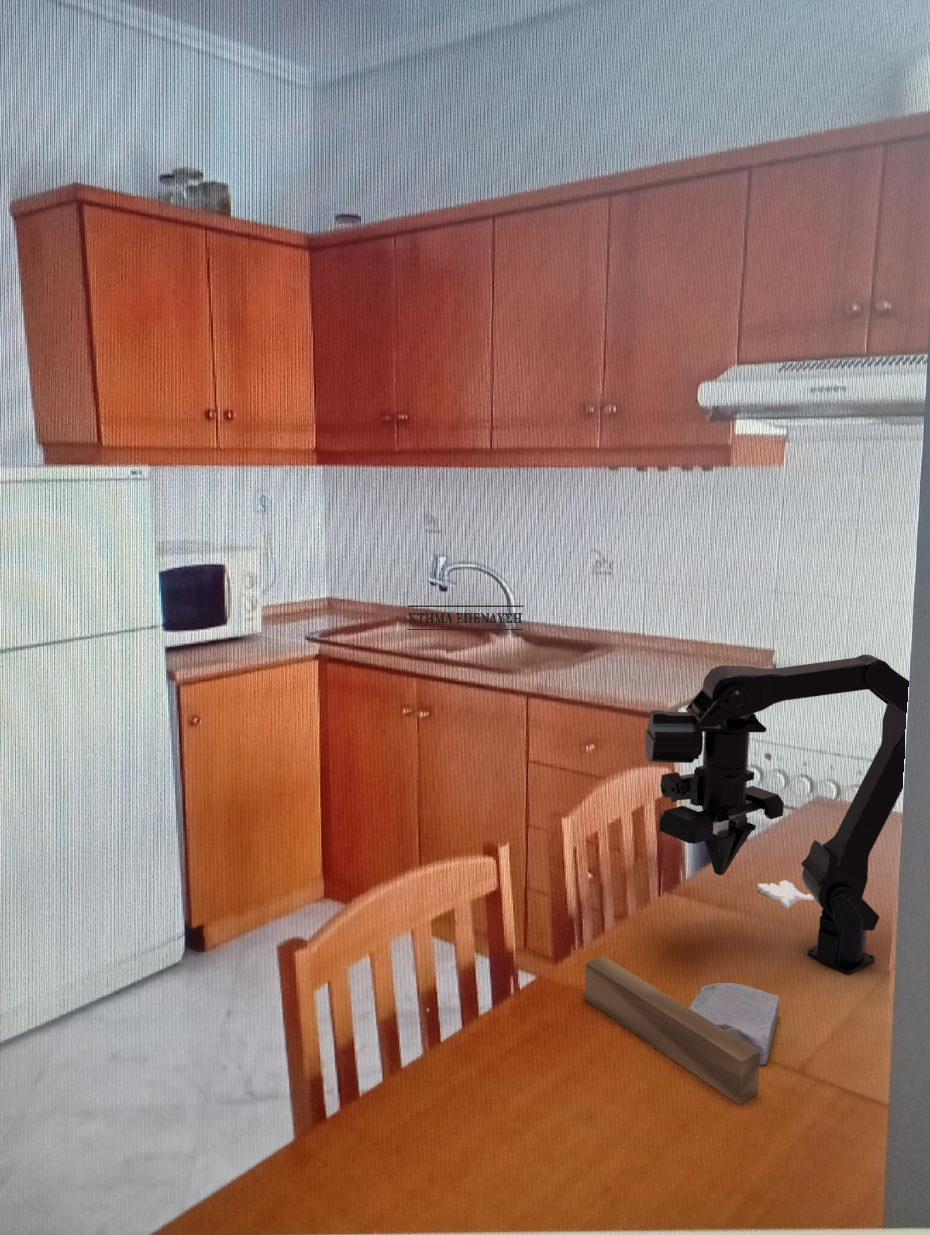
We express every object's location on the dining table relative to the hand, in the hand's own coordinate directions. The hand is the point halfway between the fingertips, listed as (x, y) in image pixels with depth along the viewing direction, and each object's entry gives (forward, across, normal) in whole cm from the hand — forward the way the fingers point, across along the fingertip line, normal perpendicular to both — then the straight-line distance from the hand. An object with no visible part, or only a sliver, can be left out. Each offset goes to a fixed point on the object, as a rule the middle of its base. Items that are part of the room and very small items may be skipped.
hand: (719, 873), depth 127 cm
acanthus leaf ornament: (+13, -24, -6) cm, 28 cm away
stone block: (+12, +12, +13) cm, 21 cm away
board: (+12, +20, +10) cm, 26 cm away
